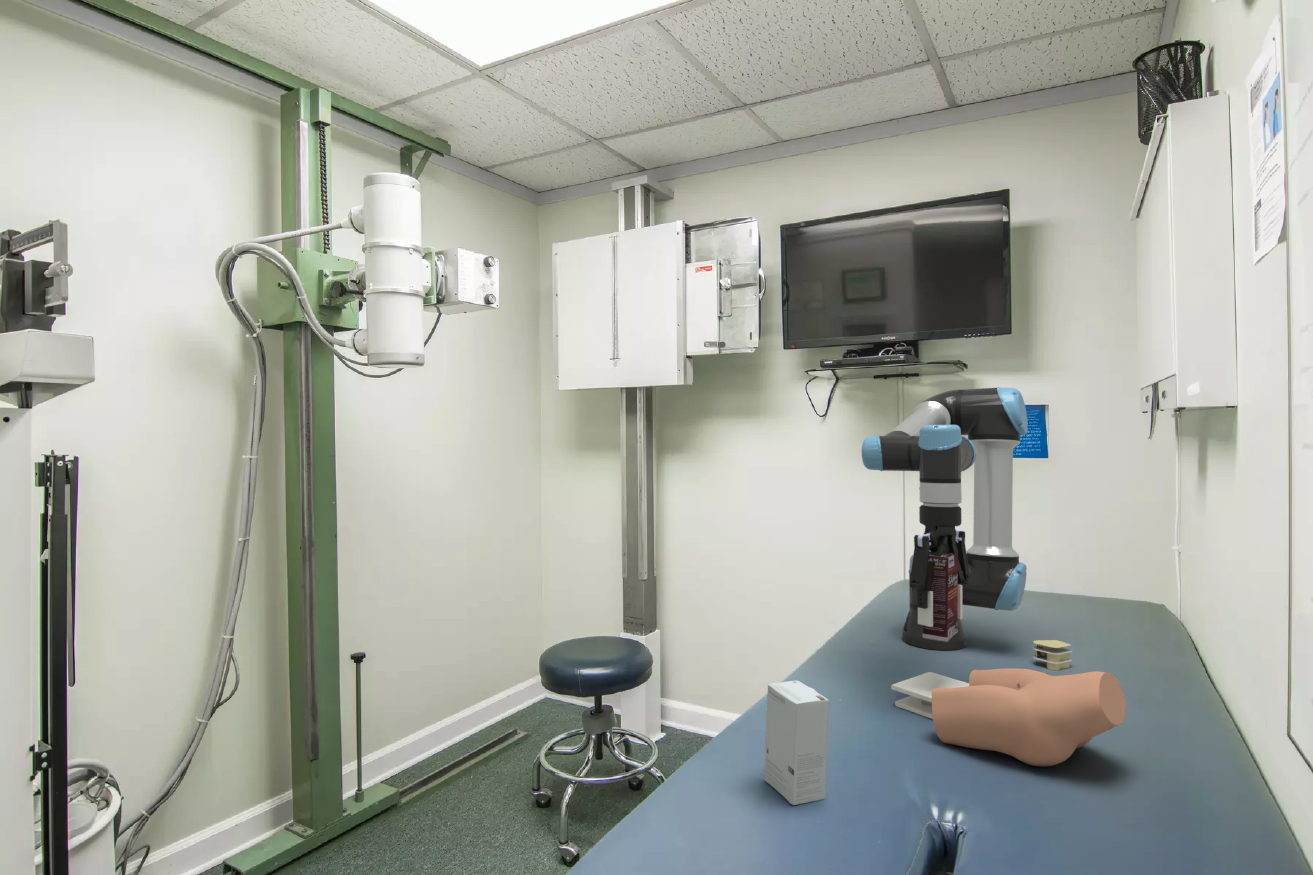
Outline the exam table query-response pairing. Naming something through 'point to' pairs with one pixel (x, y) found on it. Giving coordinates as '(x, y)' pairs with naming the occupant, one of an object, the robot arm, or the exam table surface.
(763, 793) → the exam table surface
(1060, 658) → the beige layered block
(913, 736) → the exam table surface
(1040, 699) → the medical training model
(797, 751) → the skincare box
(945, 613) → the supplement box
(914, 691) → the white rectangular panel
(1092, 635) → the exam table surface
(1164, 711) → the exam table surface
